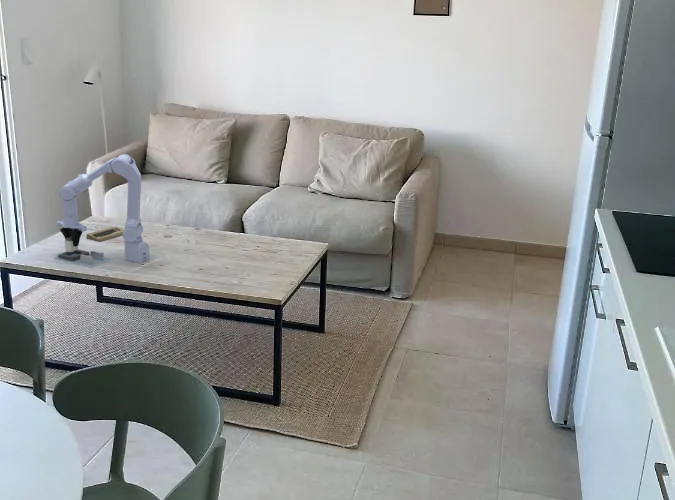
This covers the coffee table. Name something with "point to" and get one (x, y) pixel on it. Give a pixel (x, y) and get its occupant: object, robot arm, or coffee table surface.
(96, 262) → the panel board
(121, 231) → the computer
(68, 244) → the plug
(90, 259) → the plate with twin rails
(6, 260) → the coffee table surface
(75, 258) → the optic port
